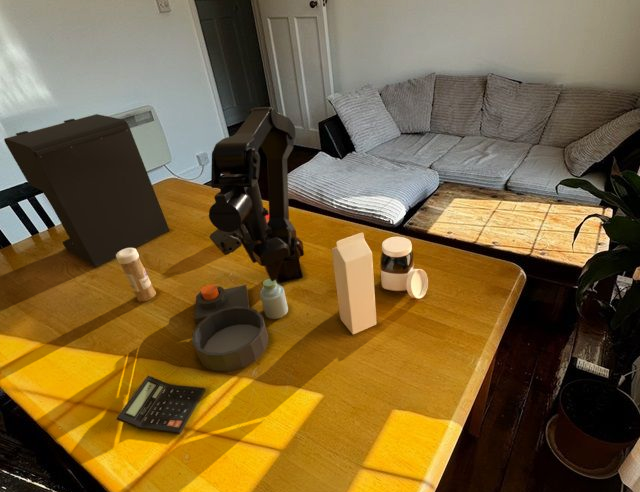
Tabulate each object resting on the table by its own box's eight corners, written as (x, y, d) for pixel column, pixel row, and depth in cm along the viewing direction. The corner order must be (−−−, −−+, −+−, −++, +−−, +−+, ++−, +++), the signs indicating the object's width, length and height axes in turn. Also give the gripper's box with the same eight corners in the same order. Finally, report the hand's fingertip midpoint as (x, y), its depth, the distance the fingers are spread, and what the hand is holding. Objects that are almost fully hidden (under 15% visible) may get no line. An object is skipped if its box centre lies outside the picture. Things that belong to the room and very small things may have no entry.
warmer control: (248, 291, 103) (244, 278, 101) (250, 313, 96) (246, 300, 94) (198, 302, 101) (193, 289, 99) (197, 326, 94) (191, 313, 92)
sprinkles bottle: (158, 297, 104) (137, 252, 96) (138, 304, 102) (116, 259, 94) (154, 288, 107) (134, 244, 99) (135, 295, 105) (113, 251, 97)
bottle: (286, 302, 99) (280, 272, 94) (289, 316, 94) (283, 286, 89) (264, 307, 98) (256, 278, 93) (266, 322, 93) (258, 292, 88)
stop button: (218, 289, 99) (216, 283, 98) (218, 298, 96) (216, 291, 95) (203, 292, 98) (201, 286, 97) (203, 302, 95) (200, 295, 94)
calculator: (180, 434, 71) (174, 424, 69) (121, 427, 73) (114, 417, 72) (205, 390, 79) (201, 380, 77) (151, 385, 81) (146, 374, 79)
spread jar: (385, 271, 106) (383, 232, 99) (429, 274, 104) (431, 234, 97) (377, 301, 97) (375, 260, 90) (426, 305, 94) (427, 263, 88)
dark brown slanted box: (148, 212, 145) (106, 108, 125) (181, 225, 135) (140, 115, 115) (65, 249, 127) (0, 136, 107) (96, 268, 117) (30, 146, 97)
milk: (376, 324, 90) (372, 238, 77) (352, 335, 88) (343, 248, 75) (362, 309, 95) (356, 225, 82) (339, 319, 92) (329, 234, 80)
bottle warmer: (265, 316, 95) (260, 300, 92) (271, 361, 84) (266, 344, 81) (200, 332, 92) (193, 315, 89) (198, 380, 81) (190, 363, 78)
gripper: (192, 203, 83) (213, 266, 92) (226, 238, 71) (247, 308, 80) (243, 187, 88) (258, 248, 97) (284, 217, 76) (297, 284, 85)
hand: (264, 270), depth 90 cm, fingers open, 9 cm apart
